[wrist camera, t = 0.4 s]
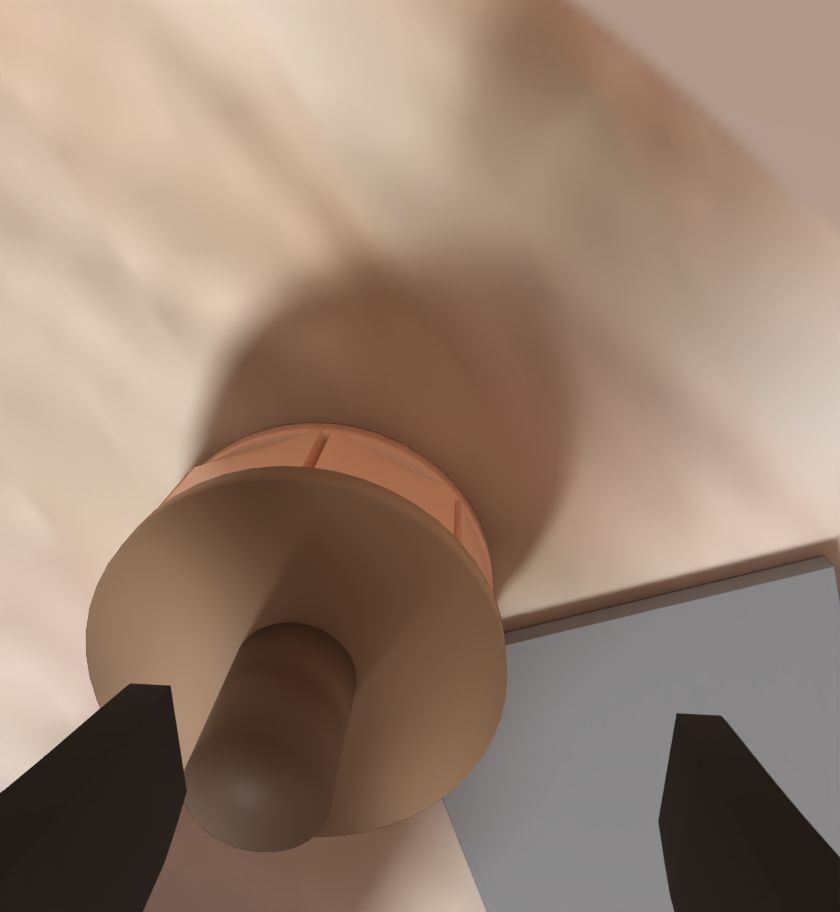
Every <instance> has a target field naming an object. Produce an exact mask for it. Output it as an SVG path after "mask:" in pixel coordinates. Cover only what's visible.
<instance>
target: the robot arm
mask: <svg viewBox="0 0 840 912" xmlns="http://www.w3.org/2000/svg"><path fill="white" fill-rule="evenodd" d="M186 792H187V789H186V782H185V776H184V769H183V763H182V756H181V750H180V743H179V737H178V730H177V724H176V717H175V711H174V704H173V698H172V691H171V686H170V685H152V684H134V683H130V684H129V685H127V686H126V687H125V688H124V689H123V690H121V691H120V692H119V693H118V694H117V695H115V696H114V697H113V698H112V699H111V700H110V701H108V702H107V703H106V704H105V705H104V706H103V707H101V708H100V709H99V710H98V711H97V712H96V713H94V714H93V715H92V716H91V717H90V718H89V719H88V720H86V721H85V722H84V723H83V724H82V725H81V726H79V727H78V728H77V729H76V730H75V731H74V732H73V733H71V734H70V735H69V736H68V737H67V738H66V739H64V740H63V741H62V742H61V743H60V744H59V745H57V746H56V747H55V748H54V749H53V750H52V751H50V752H49V753H48V754H47V755H46V756H44V757H43V758H42V759H41V760H40V761H39V762H37V763H36V764H35V765H34V766H33V767H31V768H30V769H29V770H28V771H27V772H25V773H24V774H23V775H22V776H21V777H19V778H18V779H17V780H16V781H15V782H13V783H12V784H11V785H10V786H9V787H7V788H6V789H5V790H4V791H2V792H1V793H0V912H143V910H144V908H145V905H146V903H147V901H148V899H149V896H150V894H151V892H152V890H153V887H154V885H155V883H156V881H157V878H158V876H159V874H160V871H161V869H162V867H163V864H164V862H165V859H166V856H167V853H168V850H169V847H170V844H171V841H172V838H173V835H174V832H175V829H176V825H177V822H178V819H179V816H180V812H181V809H182V806H183V802H184V799H185V796H186ZM658 823H659V830H660V837H661V843H662V850H663V856H664V863H665V869H666V875H667V881H668V887H669V893H670V898H671V902H672V905H673V909H674V912H840V857H839V855H838V854H837V853H836V852H835V851H834V850H833V849H832V847H831V846H830V845H829V844H828V843H827V842H826V841H825V839H824V838H823V837H822V836H821V835H820V834H819V833H818V831H817V830H816V829H815V828H814V827H813V826H812V825H811V823H810V822H809V821H808V820H807V819H806V818H805V817H804V815H803V814H802V813H801V812H800V811H799V810H798V808H797V807H796V806H795V805H794V804H793V802H792V801H791V800H790V799H789V798H788V796H787V795H786V794H785V793H784V792H783V790H782V789H781V788H780V787H779V785H778V784H777V783H776V782H775V781H774V779H773V778H772V777H771V776H770V775H769V773H768V772H767V771H766V770H765V768H764V767H763V766H762V765H761V763H760V762H759V761H758V760H757V758H756V757H755V756H754V755H753V753H752V752H751V751H750V750H749V748H748V747H747V746H746V745H745V743H744V742H743V741H742V740H741V738H740V737H739V736H738V735H737V733H736V732H735V731H734V730H733V728H732V727H731V726H730V725H729V723H728V722H727V721H726V720H725V719H724V718H723V717H722V716H720V715H702V714H683V713H676V719H675V725H674V731H673V737H672V743H671V749H670V754H669V760H668V766H667V772H666V778H665V784H664V790H663V796H662V802H661V807H660V813H659V819H658Z"/></svg>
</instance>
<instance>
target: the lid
mask: <svg viewBox="0 0 840 912" xmlns="http://www.w3.org/2000/svg"><path fill="white" fill-rule="evenodd" d="M86 657H87V663H88V669H89V676H90V680H91V683H92V686H93V689H94V693H95V696H96V699H97V701H98V704H99V706H100V708H101V707H103V706H104V705H105V704H106V703H107V702H108V701H110V700H111V699H112V698H113V697H114V696H115V695H117V694H118V693H119V692H120V691H121V690H123V689H124V688H125V687H126V686H127V685H129V684H130V683H134V684H152V685H170V686H171V691H172V698H173V704H174V711H175V717H176V724H177V730H178V737H179V743H180V750H181V756H182V763H183V769H184V776H185V782H186V789H187V792H186V796H185V799H184V802H185V804H186V807H187V809H188V811H189V812H190V814H191V816H192V817H193V818H194V820H195V821H196V822H197V823H198V824H199V825H200V826H201V827H202V828H203V829H204V830H205V831H206V832H208V833H209V834H210V835H212V836H213V837H215V838H216V839H218V840H220V841H222V842H224V843H226V844H228V845H231V846H234V847H236V848H240V849H244V850H249V851H255V852H276V851H283V850H287V849H291V848H294V847H296V846H299V845H301V844H303V843H305V842H307V841H308V840H310V839H311V838H312V837H327V836H343V835H349V834H356V833H362V832H367V831H371V830H375V829H378V828H382V827H386V826H389V825H392V824H394V823H397V822H399V821H402V820H405V819H407V818H410V817H412V816H414V815H415V814H417V813H419V812H421V811H423V810H425V809H427V808H428V807H430V806H432V805H433V804H435V803H436V802H438V801H439V800H440V799H442V798H443V797H445V796H446V795H447V794H449V793H450V792H451V791H452V790H453V789H454V788H456V787H457V786H458V785H459V784H460V783H461V782H462V781H463V780H464V779H465V778H466V777H467V776H468V775H469V774H470V772H471V771H472V770H473V769H474V767H475V766H476V765H477V764H478V763H479V761H480V760H481V759H482V757H483V755H484V754H485V752H486V750H487V748H488V747H489V745H490V743H491V742H492V740H493V737H494V735H495V732H496V730H497V727H498V725H499V722H500V720H501V716H502V712H503V708H504V703H505V699H506V689H507V661H506V649H505V638H504V628H503V624H502V620H501V616H500V612H499V608H498V605H497V603H496V600H495V598H494V595H493V593H492V591H491V588H490V586H489V583H488V582H487V580H486V578H485V576H484V575H483V573H482V571H481V570H480V568H479V566H478V565H477V563H476V561H475V560H474V559H473V557H472V556H471V555H470V554H469V552H468V551H467V550H466V549H465V547H464V546H463V545H462V544H461V542H460V541H459V540H458V539H457V538H456V537H455V536H454V535H453V534H452V533H451V532H450V531H449V530H448V529H447V528H446V527H444V526H443V525H442V524H441V523H440V522H439V521H438V520H437V519H435V518H434V517H433V516H431V515H430V514H429V513H427V512H426V511H425V510H423V509H422V508H421V507H419V506H418V505H416V504H415V503H413V502H411V501H409V500H408V499H406V498H404V497H402V496H401V495H399V494H397V493H395V492H393V491H392V490H389V489H387V488H385V487H382V486H380V485H377V484H375V483H373V482H370V481H368V480H365V479H362V478H358V477H355V476H351V475H348V474H344V473H341V472H337V471H331V470H325V469H318V468H312V467H298V466H272V467H261V468H250V469H245V470H241V471H236V472H232V473H227V474H223V475H220V476H217V477H215V478H212V479H209V480H206V481H204V482H201V483H198V484H196V485H194V486H192V487H190V488H189V489H187V490H185V491H183V492H181V493H179V494H177V495H175V496H174V497H172V498H171V499H170V500H168V501H167V502H166V503H164V504H163V505H161V506H160V507H159V508H157V509H156V510H155V511H153V512H152V513H151V514H150V515H149V516H148V517H147V518H146V519H145V520H144V521H143V522H142V523H141V524H140V525H139V526H138V527H137V528H136V529H135V531H134V532H133V533H132V534H131V535H130V536H129V538H128V539H127V540H126V541H125V542H124V543H123V544H122V546H121V547H120V548H119V550H118V551H117V553H116V554H115V555H114V557H113V558H112V559H111V561H110V562H109V563H108V565H107V567H106V569H105V571H104V573H103V575H102V577H101V579H100V580H99V582H98V584H97V587H96V590H95V593H94V596H93V599H92V602H91V605H90V608H89V615H88V621H87V628H86Z"/></svg>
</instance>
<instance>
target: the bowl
mask: <svg viewBox="0 0 840 912" xmlns="http://www.w3.org/2000/svg"><path fill="white" fill-rule="evenodd" d="M272 466H298V467H312V468H318V469H325V470H331V471H337V472H341V473H344V474H348V475H351V476H355V477H358V478H362V479H365V480H368V481H370V482H373V483H375V484H377V485H380V486H382V487H385V488H387V489H389V490H392V491H393V492H395V493H397V494H399V495H401V496H402V497H404V498H406V499H408V500H409V501H411V502H413V503H415V504H416V505H418V506H419V507H421V508H422V509H423V510H425V511H426V512H427V513H429V514H430V515H431V516H433V517H434V518H435V519H437V520H438V521H439V522H440V523H441V524H442V525H443V526H444V527H446V528H447V529H448V530H449V531H450V532H451V533H452V534H453V535H454V536H455V537H456V538H457V539H458V540H459V541H460V542H461V544H462V545H463V546H464V547H465V549H466V550H467V551H468V552H469V554H470V555H471V556H472V557H473V559H474V560H475V561H476V563H477V565H478V566H479V568H480V570H481V571H482V573H483V575H484V576H485V578H486V580H487V582H488V583H489V586H490V588H491V591H492V593H493V580H492V569H491V558H490V554H489V550H488V546H487V542H486V538H485V535H484V533H483V530H482V528H481V526H480V523H479V521H478V518H477V517H476V515H475V513H474V512H473V510H472V508H471V506H470V505H469V503H468V501H467V500H466V499H465V497H464V496H463V495H462V493H461V492H460V491H459V490H458V488H457V487H456V486H455V484H454V483H453V482H452V481H451V480H450V479H449V478H448V477H447V476H446V475H445V474H444V473H443V472H442V471H441V470H440V469H439V468H437V467H436V466H435V465H433V464H432V463H431V462H429V461H428V460H427V459H426V458H424V457H423V456H422V455H420V454H419V453H417V452H415V451H413V450H412V449H410V448H408V447H407V446H405V445H403V444H401V443H399V442H397V441H395V440H392V439H390V438H388V437H385V436H383V435H381V434H378V433H375V432H371V431H368V430H364V429H361V428H357V427H352V426H346V425H339V424H333V423H301V424H290V425H284V426H279V427H275V428H270V429H266V430H263V431H260V432H257V433H255V434H252V435H249V436H246V437H244V438H242V439H240V440H238V441H236V442H234V443H233V444H231V445H229V446H227V447H225V448H224V449H222V450H221V451H219V452H218V453H217V454H215V455H214V456H213V457H211V458H210V459H209V460H207V461H206V462H205V463H204V464H203V465H200V466H196V467H194V468H193V470H192V471H191V472H190V473H189V474H188V473H187V474H186V475H185V477H184V478H183V479H182V480H181V481H180V483H179V484H178V485H177V486H176V487H175V488H174V490H173V491H172V492H171V493H170V494H169V495H168V497H167V498H166V499H165V500H164V501H163V502H162V504H161V505H163V504H164V503H166V502H167V501H168V500H170V499H171V498H172V497H174V496H175V495H177V494H179V493H181V492H183V491H185V490H187V489H189V488H190V487H192V486H194V485H196V484H198V483H201V482H204V481H206V480H209V479H212V478H215V477H217V476H220V475H223V474H227V473H232V472H236V471H241V470H245V469H250V468H261V467H272ZM161 505H160V506H161ZM160 506H159V507H160ZM159 507H158V508H159Z"/></svg>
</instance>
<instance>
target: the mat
mask: <svg viewBox="0 0 840 912" xmlns="http://www.w3.org/2000/svg"><path fill="white" fill-rule="evenodd" d="M504 638H505V649H506V661H507V689H506V699H505V703H504V708H503V712H502V716H501V720H500V722H499V725H498V727H497V730H496V732H495V735H494V737H493V740H492V742H491V743H490V745H489V747H488V748H487V750H486V752H485V754H484V755H483V757H482V759H481V760H480V761H479V763H478V764H477V765H476V766H475V767H474V769H473V770H472V771H471V772H470V774H469V775H468V776H467V777H466V778H465V779H464V780H463V781H462V782H461V783H460V784H459V785H458V786H457V787H456V788H454V789H453V790H452V791H451V792H450V793H449V794H447V795H446V796H445V797H443V798H442V800H443V802H444V805H445V807H446V810H447V812H448V815H449V817H450V820H451V823H452V825H453V828H454V830H455V833H456V835H457V838H458V840H459V843H460V845H461V848H462V850H463V853H464V856H465V858H466V861H467V863H468V866H469V868H470V871H471V873H472V876H473V878H474V881H475V883H476V886H477V889H478V891H479V894H480V896H481V899H482V901H483V904H484V906H485V909H486V911H487V912H674V909H673V905H672V902H671V898H670V893H669V887H668V881H667V875H666V869H665V863H664V856H663V850H662V843H661V837H660V830H659V823H658V819H659V813H660V807H661V802H662V796H663V790H664V784H665V778H666V772H667V766H668V760H669V754H670V749H671V743H672V737H673V731H674V725H675V719H676V713H683V714H702V715H720V716H722V717H723V718H724V719H725V720H726V721H727V722H728V723H729V725H730V726H731V727H732V728H733V730H734V731H735V732H736V733H737V735H738V736H739V737H740V738H741V740H742V741H743V742H744V743H745V745H746V746H747V747H748V748H749V750H750V751H751V752H752V753H753V755H754V756H755V757H756V758H757V760H758V761H759V762H760V763H761V765H762V766H763V767H764V768H765V770H766V771H767V772H768V773H769V775H770V776H771V777H772V778H773V779H774V781H775V782H776V783H777V784H778V785H779V787H780V788H781V789H782V790H783V792H784V793H785V794H786V795H787V796H788V798H789V799H790V800H791V801H792V802H793V804H794V805H795V806H796V807H797V808H798V810H799V811H800V812H801V813H802V814H803V815H804V817H805V818H806V819H807V820H808V821H809V822H810V823H811V825H812V826H813V827H814V828H815V829H816V830H817V831H818V833H819V834H820V835H821V836H822V837H823V838H824V839H825V841H826V842H827V843H828V844H829V845H830V846H831V847H832V849H833V850H834V851H835V852H836V853H837V854H838V855H839V857H840V601H839V595H838V589H837V583H836V576H835V570H834V566H833V565H832V564H831V563H830V562H829V561H828V559H827V558H826V557H825V556H821V557H817V558H812V559H808V560H804V561H800V562H796V563H792V564H788V565H784V566H779V567H775V568H771V569H767V570H763V571H759V572H755V573H751V574H746V575H742V576H738V577H734V578H730V579H726V580H722V581H717V582H713V583H709V584H705V585H701V586H697V587H693V588H689V589H684V590H680V591H676V592H672V593H668V594H664V595H660V596H655V597H651V598H647V599H643V600H639V601H635V602H631V603H627V604H622V605H618V606H614V607H610V608H606V609H602V610H598V611H594V612H589V613H585V614H581V615H577V616H573V617H569V618H565V619H560V620H556V621H552V622H548V623H544V624H540V625H536V626H532V627H527V628H523V629H519V630H515V631H511V632H507V633H504Z"/></svg>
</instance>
